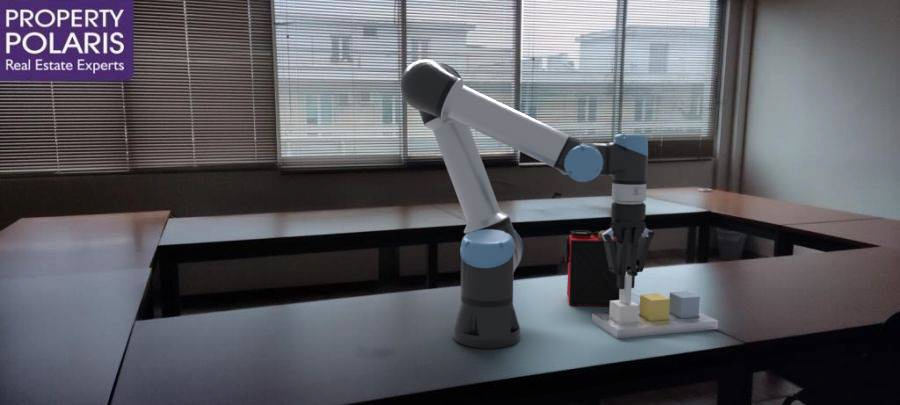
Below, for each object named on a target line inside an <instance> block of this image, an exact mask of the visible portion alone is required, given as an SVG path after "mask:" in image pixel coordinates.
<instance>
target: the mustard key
mask: <svg viewBox="0 0 900 405" xmlns="http://www.w3.org/2000/svg"><path fill="white" fill-rule="evenodd" d="M639 296H640V298H639V309H640V313H639V315H640V316H642V317H644V318H646V319H647V320H649V321H650V322H653V321H660V320H669V307H670V297H669V298H668V297H666V296H664V295H663V294H660V293H647V294H640V295H639Z"/></svg>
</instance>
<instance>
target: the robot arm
mask: <svg viewBox="0 0 900 405" xmlns="http://www.w3.org/2000/svg"><path fill="white" fill-rule="evenodd" d="M400 91H401V95H402V97H403V99H404V100H405V101H406V103H407V104H408V105H409V106H410V107H411V108H413V109H415V110H417V111H418V113H419V115H420V117H421V120H422V123H423V125H424V126H423V127H426V128H427V129H430V130H431V131H432V132H433V134H434V137H435V140H436V142H437V145H438V148H439V150H440V154H441V155H442V160H443V162H444V165H445V167H446V170H447V173H448V175H449V177H450V180H451V183H452V186H453V188H454V191H455V193H456V196H457V199H458V201H459V205H460V207H461V210H462V212H463V215H464V218H465V220H466V226H465V228H464V230H463V233H464V236H463V237H462V240H461V243H460V244H461V246H460V249H459V254H460V255H459V256H460V304H459V307H458V310H457V313H456V317H455V320H454V322H453V325H452V338H453V340H455V342H457V343H458V344H461V345H463V346H467V347H471V348H475V349H488V350H489V349H501V348H507V347H510V346H513V345H515V344H517V343H518V342H519V341H520V340H521V326H520V323H519V320H518V316H517V312H516V310H515V307H514V272H515V271H516V269H517V267H519V265H520V263H521V261H522V258H523V254H524V246H523V245H524V244H523V241H522V238H521V236H520V235H519V233H518V232H517V230H516V229H514V226H513V224H512V221H511V218H510V216H509V214H508V213H505V212H503V211H502V210H501V209H500V206H499V204H498V200H497V198H496V196H495V193H494V190H493V186H492V185H491V181H490V179H489V176H488V173H487V171H486V168H485V165H484V163H483V160H482V157H481V155H480V152H479V149H478V147H477V144H476V141H475V138H474V136H473V134H472V131H471V129H473V130H475V131H476V132H479V133H481V134H483V135H485V136H487V137H489V138H492V139H494V140H496V141H498V142H500V143H502V144H503V145H506V146H508V147H510V148H512V149H515V150H517V151H518V152H519V153H520V152H521V153H523V154H525V155H527V156H529V157H531V158H533V159H535V160H537V161H539V162H541V163H543V164H546V165H548V166H550V167H552V168H554V169H556V170H558V171H559V172H560V173H561V175H564V176H565V175H566V176H567V175H568V177H570V178H571V179H572V180H574V181H576V182H579V183H586V182H591V181H592V180H594V179H595V178H598V176H608V177H609V176H612V180H611V181H612V184H611V185H612V186H611V200H613V201H612V203H611V212H610V216H611V217H610V218H611V223H610V225H609V228H608V229H606V230H605V231H606V232H601V233H600V236H601V238H602V240H603V241H604V245H605V250H606V256H607V261H608V266H609V270H610V271H611V272H613V273H615V274H617V288H619V289H620V290H619V301H621V302H623V303H624V304H630V303H631V301H632V289H634V288H635V283H636V282H635V280H636V277H637V276H638V275H639V274H638V273H642V272H643V271H644V268H645V263H646V260H647V258H648V257H647V256H648V252H649V249H650V245H651V241H652V240H653V238H654V237H655V235H656V232H655V231H653V230H650V229H648V228H647V225H646V223H645V219H646V209H647V205H646V203H645V201H646V200H647V182H648V181H647V180H648V165H649V164H648V160H649V146H648V145H649V142H648V141H649V140H648V136H646V135H645V134H642V133H616V134H615V135H614V136H613V140H612V141H610V142H584V141H583V140H580V139H577V138H576V137H574V136H570V135H569V134H567V133H565V132H562V130H561V131H560V130H558V129H557V128H555V127H553V126H550V125H548V124H546V123H543V122H542V121H540V120H537V119H536V118H533V117H531V116H529V115H527V114H526V113H523V112H522V111H519V110H516V109H514V108H512V107H510V106H508V105H506V104H504V103H501V102H500V101H497V100H495V99H493V98H492V97H490V96H487V95H485V94H483V93H480V92H478V91H476V90H475V89H472V88H471V87H468V86H466V85H465V83H464V80H463V79H462V76H461V74H459V72H458V71H457V70H455V68H454V67H452V66H451V65H448V64H446V63H442V62H438V61H436V60H434V59H429V58H428V59H427V58H425V59H418V60H415V61H414V62H412V63H411V64H409V65H408V66H407V67H406V69H405V70H404V71H403V74H402V75H401V79H400ZM613 235H614V236H615V238H616V245H617V257H616V252H615V247H614V242H613V240H612V239H613ZM639 239H640V240H639Z"/></svg>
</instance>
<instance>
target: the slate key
mask: <svg viewBox="0 0 900 405" xmlns="http://www.w3.org/2000/svg"><path fill="white" fill-rule="evenodd" d="M669 299H670V307H669V313H671V314H673V315H675V316H677V317H679V319H686V318H693V317H699V312H700V299H701V297H700V296H699V295H697V294H694V293H692V292H690V291H688V290H684V291H673V292H669Z"/></svg>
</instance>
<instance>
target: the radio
mask: <svg viewBox="0 0 900 405" xmlns="http://www.w3.org/2000/svg"><path fill="white" fill-rule="evenodd" d="M606 231H607V230H600V231H595V232H594V231H593V232H592V231H589V230H584V229H583V230H581V229H576V230H570V234H569V235H568V237H565V244H564V245H565V246H564V256H565V258H564V261H565V263H567V283H566V284H567V287H566V288H567V289H566V294H567V295H566V296H567V302H568V305H569V306H593V307H594V306H595V307H610V301H612V300H619V290H620V289H619V288H617V274H615V273H613V272H611V271H610V270H609V266H608V261H607V256H606V250H605V245H604V241H603V240H602V238H601V236H600V233H601V232H606ZM612 240H613V242H614V247H615V252H616V257H617V245H616V238H615V236H614V235H613V239H612Z"/></svg>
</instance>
